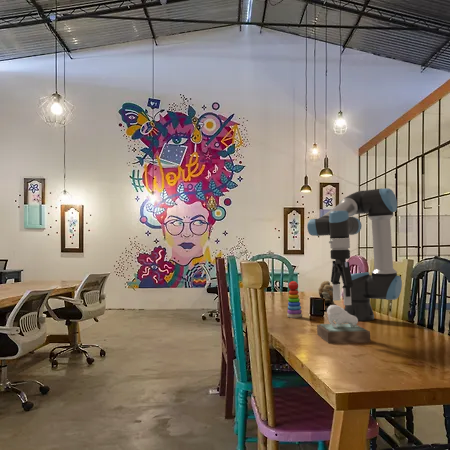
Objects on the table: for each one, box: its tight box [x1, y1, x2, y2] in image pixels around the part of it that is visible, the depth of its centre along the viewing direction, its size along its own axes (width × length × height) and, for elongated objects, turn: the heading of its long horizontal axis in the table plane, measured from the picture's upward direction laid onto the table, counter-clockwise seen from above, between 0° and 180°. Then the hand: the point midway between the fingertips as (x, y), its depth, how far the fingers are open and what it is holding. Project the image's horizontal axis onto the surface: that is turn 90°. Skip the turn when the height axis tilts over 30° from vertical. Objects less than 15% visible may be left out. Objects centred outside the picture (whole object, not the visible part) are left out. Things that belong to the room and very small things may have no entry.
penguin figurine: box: [326, 304, 359, 328], centre depth 163 cm, size 6×8×12 cm
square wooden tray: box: [316, 323, 371, 344], centre depth 163 cm, size 16×16×4 cm
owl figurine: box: [318, 280, 337, 312], centre depth 242 cm, size 18×12×17 cm, turn 164°
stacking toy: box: [286, 280, 303, 319], centre depth 217 cm, size 8×8×19 cm
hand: (342, 302), depth 164 cm, fingers open, 13 cm apart
